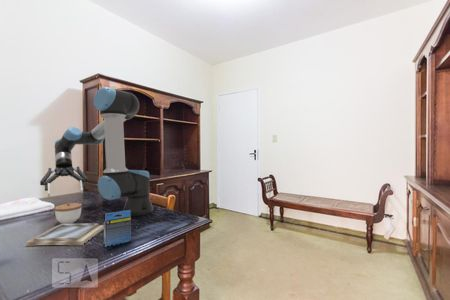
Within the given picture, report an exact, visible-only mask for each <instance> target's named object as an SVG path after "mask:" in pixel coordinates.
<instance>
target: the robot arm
mask: <svg viewBox="0 0 450 300" xmlns="http://www.w3.org/2000/svg"><path fill="white" fill-rule="evenodd" d="M93 105H94V107H95V109H96V110H97V111H99V116H100V117H101V118H103V119H102V121H101V122H100V123H98V124H97V125H96V126H95V127H94V128H93V129H91V130H90V131H82V130H81V129H80V128H77V127H75V126H70V127H68V128H66V130H65V132H63V135H62V137H61V138H59V139H57V140H55V142H54V155H55V156H54V158H55V160H54V162H55V168H51V167H48V170H47V172H46V173H45V174H44V175H43V177H42V178H41V179H40V181H39V184H40V186H44V191H45V192H46V191H47V197H48V198H50V197H51V191H50V190H51V188H50V187H51V184H52V183H53V182H54V181H55V180H57V179H58V178H59V177H71V178H74V179H75V180H76V181H78V182H79V189H80V194H83V193H84V192H83V191H84V190H83V189H84V188H85V182H88V179H89V178H88V176H86V174H85V173H84V172H83V171H82V170H81V169H80V166H76V167H73V159H72V150H73V149H74V147H75V146H76V145H92V146H93V145H94V146H97V145H101V144H103V143H104V150H105V169H104V170H103V171H102V176H101V177H99V179H98V180H97V190H98V192H99V195H101V196H102V198H103V199H106V200H110V201H112V200H118V199H120V198H121V199H122V198H124V197H126V200H125V203H124V204H125V205H124V207H123V210H122V211H127V210H130V211H131V217H136V216H144V215H149V214H150V213H153V211H154V206H153V204H152V200H151V198H150V197H151V196H150V186H151V185H150V184H151V183H150V179H151V178H150V172H149V171H147V170H140V169H138V170H137V169H128V168H127V167H126V155H125V154H126V152H125V132H124V131H125V130H124V122H126V121H127V120H128V121H129V120H131V119H132V118H134V117H135V116H136V115H137V113H138V112H139V111H140V110H139V109H140V101H139V99H138V97H137V96H136V95H135V94H134V93H132V92H129V91H124V90H120V89H116V88H115V87H108V86H103V87H100V88H99V89H98V90H97V91H96V93H95V95H94V97H93ZM53 173H54V174H53ZM51 175H52V176H51Z"/></svg>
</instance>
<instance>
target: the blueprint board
mask: <svg viewBox="0 0 450 300" xmlns="http://www.w3.org/2000/svg"><path fill="white" fill-rule="evenodd" d="M102 231H104V224H99V223H97V222H95V223H70V224H61V223H60V224H58V225H56V226H54V227H52V228H51V229H47V230H46V231H45V232H43V233H41V234H38V235H36V236H35V237H33V238H31V239H29V240H27V241H25V247H35V246H34V245H69V246H84V245H85V244H86V243H88V242H89V241H90V240H91V239H92V237H93V238H94V237H95V236H97V235H98V234H99V233H101V232H102ZM88 240H89V241H88ZM84 243H85V244H84Z"/></svg>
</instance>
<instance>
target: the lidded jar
mask: <svg viewBox="0 0 450 300" xmlns="http://www.w3.org/2000/svg"><path fill="white" fill-rule="evenodd" d="M81 214H82V204H81V203H80V202H79V203H78V202H73V203H70V202H66V203H65V204H61V205H60V204H59V205H57V206H54V215H55V219H56V221H58V222H59V223H60V225H61V224H75V223H76V222H77V221H78V220H79V219H80V217H81Z"/></svg>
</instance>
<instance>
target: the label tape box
mask: <svg viewBox="0 0 450 300" xmlns="http://www.w3.org/2000/svg"><path fill="white" fill-rule="evenodd" d="M118 215H119V216H118ZM131 222H132V216H131V211H130V210H127V211H123V210H120V211H115V212H106V213H105V220H104V221H103V225H104V229H103V244H105V245H104V247H105V248H107V246H109V247H112V246H111V245H113V246H117V245H121V244H124V243H129V241H130V242H131V241H132V240H131V239H132V237H131V236H132V233H131V232H132V231H131V230H132V229H131V228H132V223H131ZM120 243H121V244H120ZM116 244H117V245H116Z"/></svg>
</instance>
